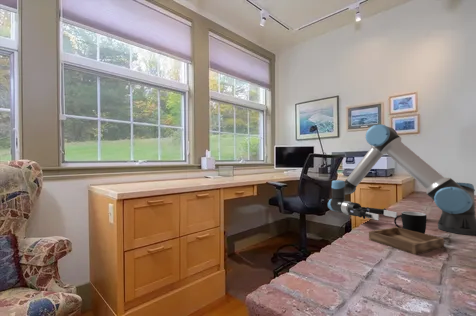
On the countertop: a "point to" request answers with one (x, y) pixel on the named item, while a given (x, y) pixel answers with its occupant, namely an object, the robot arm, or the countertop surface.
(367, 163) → the robot arm
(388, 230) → the walnut tray
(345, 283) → the countertop surface
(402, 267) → the countertop surface
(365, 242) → the countertop surface
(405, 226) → the mug
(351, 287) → the countertop surface
